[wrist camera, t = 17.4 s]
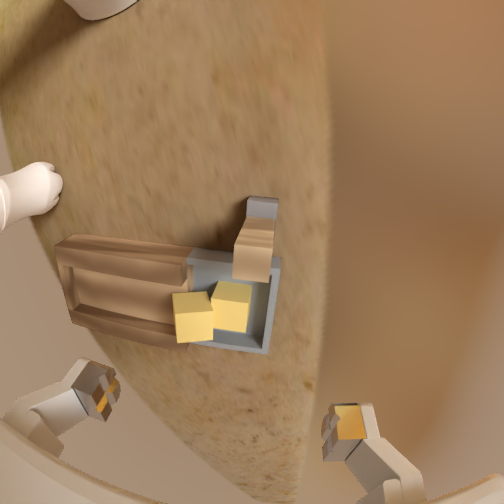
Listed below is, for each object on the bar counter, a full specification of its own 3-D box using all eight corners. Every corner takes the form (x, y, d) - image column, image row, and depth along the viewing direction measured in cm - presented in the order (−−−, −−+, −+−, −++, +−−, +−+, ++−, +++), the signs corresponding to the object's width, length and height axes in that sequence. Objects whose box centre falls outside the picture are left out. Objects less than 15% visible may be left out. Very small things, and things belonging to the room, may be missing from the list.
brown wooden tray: (76, 233, 33) (54, 246, 29) (194, 247, 32) (180, 265, 28) (89, 305, 38) (72, 323, 33) (195, 328, 37) (185, 352, 32)
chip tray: (194, 247, 32) (186, 257, 30) (280, 257, 32) (280, 269, 29) (195, 328, 37) (189, 342, 34) (268, 339, 36) (267, 354, 34)
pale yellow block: (172, 293, 31) (175, 313, 27) (206, 291, 32) (213, 310, 29) (174, 321, 32) (177, 343, 29) (206, 319, 34) (212, 339, 30)
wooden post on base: (250, 195, 30) (234, 223, 20) (278, 198, 29) (276, 227, 20) (245, 247, 32) (229, 296, 22) (272, 251, 32) (267, 300, 22)
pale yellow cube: (211, 298, 29) (248, 303, 29) (218, 280, 33) (252, 285, 33) (210, 327, 31) (245, 332, 31) (217, 308, 35) (249, 313, 34)
